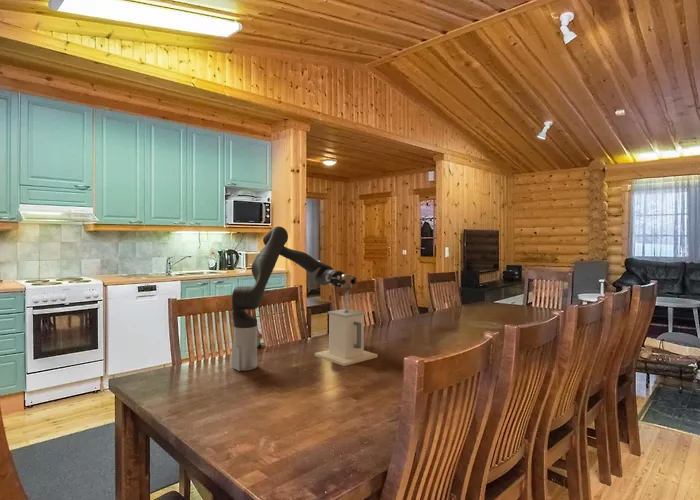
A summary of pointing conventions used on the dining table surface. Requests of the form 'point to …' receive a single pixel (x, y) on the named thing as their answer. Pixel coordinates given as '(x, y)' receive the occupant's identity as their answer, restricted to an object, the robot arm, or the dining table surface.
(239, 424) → the dining table surface
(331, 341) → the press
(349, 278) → the plunger
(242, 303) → the robot arm
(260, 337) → the cupcake
